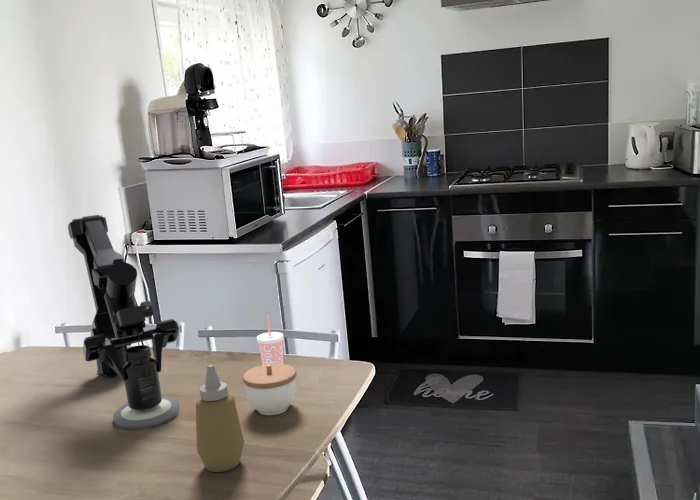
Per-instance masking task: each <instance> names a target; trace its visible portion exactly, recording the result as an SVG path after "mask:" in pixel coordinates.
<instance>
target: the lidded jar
mask: <svg viewBox="0 0 700 500" xmlns="http://www.w3.org/2000/svg"><path fill="white" fill-rule="evenodd" d="M297 381H298V380H297V369H296V368H295V367H294V366H292V365H290V364H286V363H283V364H266V365H262V364H261V365H258V366H255V367H253V368H250V369H249V370H246V371H245V372H244V373H243V376H242V382H243V383H244V392H245V395H246V398H247V401H248V403H249V404H250V405H251V407H252V408H254V409H255V410H257V411H258V413H259V414H261V415H264V416H276V415H280V414H282V413H283V414H284V413H285V412H286V411H288V409H289V407H290V406H291V404H292V403H293V401H294V399H295V397H296V393H297V385H298V383H297Z"/></svg>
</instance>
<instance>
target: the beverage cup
mask: <svg viewBox="0 0 700 500" xmlns="http://www.w3.org/2000/svg"><path fill="white" fill-rule="evenodd" d="M266 319H267V320H266V321H267V331H268V332H264V333H261V334H259V335H258V334H257V336H256V342H257V343H258V347H259V352H260V353H259V355H260V358H261V359H260V360H261V365H266V364H284V349H283V348H284V346H283V340H284V333H282V332H278V331H271V325H270V324H271V323H270V315H269V314H267V315H266Z"/></svg>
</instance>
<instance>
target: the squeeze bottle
mask: <svg viewBox="0 0 700 500" xmlns="http://www.w3.org/2000/svg"><path fill="white" fill-rule="evenodd" d="M205 375H206V376H205V384H202V385H201V386H200V387H199V396H200V398H199V399H198V400H197V401H196V402H195V418H196V419H195V423H196V428H195V429H196V430H195V431H196V450H197V454H198V456H199V457H200V459H201V462H202V464H203V465H204V468H206V469H207V470H208V471H209V472H213V473H222V472H228V471H230V470H232V469H233V470H234V468H236V467H237V466H238V465H239V464H240V462H241V458H242V454H243V450H244V444H245V440H244V436H243V431H242V427H241V426H242V425H241V422H240V418H239V414H238V410H237V405H236V402H235V401H236V400H235V398H234V396H233V395H232V394H231V393H229V389H228V383H226V382H223V381H221V380H220V378H219V375H218V373H217V370H216V367H215V365H213V364H210V365H207V367H206V374H205Z"/></svg>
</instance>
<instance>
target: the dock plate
mask: <svg viewBox="0 0 700 500" xmlns="http://www.w3.org/2000/svg"><path fill="white" fill-rule="evenodd" d="M179 413H180V405H179V401H178V400H177V399H176V398H173V397H169V396H162V401H161V403H160V404H159V405H157V406H155V407H153V408H150V409H146V410H133V409H131V408H130V407H129V406H128V402H127V403H125V404H124V405H122V406H120V407H118V408H117V409H116V410H115V411H114V413H113V416H112V417H113V423H114V425H115V426H116V427H117V428H119V429H123V430H131V431H133V430H134V431H136V430H145V429H150V428H154V427H158V426H161V425H163V424H165V423H167V422H169V421H171V420H173V419H175V417H177V415H178V414H179Z"/></svg>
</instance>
